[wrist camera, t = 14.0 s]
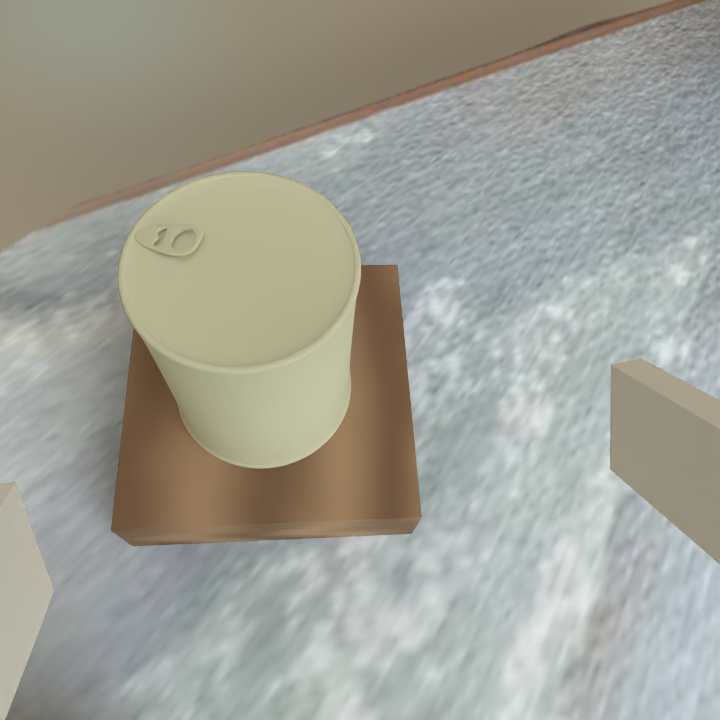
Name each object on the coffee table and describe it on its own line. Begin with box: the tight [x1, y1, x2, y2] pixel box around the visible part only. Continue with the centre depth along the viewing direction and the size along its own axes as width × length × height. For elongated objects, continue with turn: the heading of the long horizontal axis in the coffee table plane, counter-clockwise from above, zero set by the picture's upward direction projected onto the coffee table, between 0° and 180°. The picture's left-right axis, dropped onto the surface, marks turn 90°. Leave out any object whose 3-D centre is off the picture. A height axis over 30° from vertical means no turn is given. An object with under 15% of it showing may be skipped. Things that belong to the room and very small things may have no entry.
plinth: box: [111, 265, 421, 546], centre depth 37 cm, size 15×15×4 cm
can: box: [118, 171, 361, 469], centre depth 30 cm, size 9×9×12 cm
